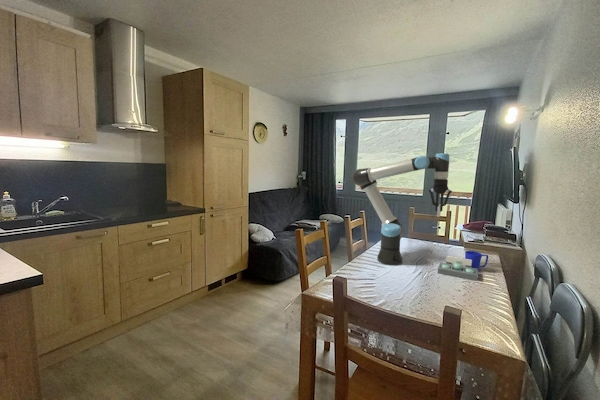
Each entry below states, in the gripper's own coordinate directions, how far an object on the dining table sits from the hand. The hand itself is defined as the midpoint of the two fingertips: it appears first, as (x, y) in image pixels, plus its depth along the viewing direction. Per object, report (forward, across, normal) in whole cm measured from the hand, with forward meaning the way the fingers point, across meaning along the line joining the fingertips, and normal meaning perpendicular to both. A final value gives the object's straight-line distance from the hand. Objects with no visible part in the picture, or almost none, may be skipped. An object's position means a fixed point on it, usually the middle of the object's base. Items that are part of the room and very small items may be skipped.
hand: (438, 216), depth 174 cm
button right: (+29, +19, -15) cm, 38 cm away
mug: (+30, +22, -2) cm, 37 cm away
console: (+29, +13, -15) cm, 35 cm away
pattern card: (+29, +13, -7) cm, 33 cm away
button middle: (+27, +13, -15) cm, 33 cm away
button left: (+29, +7, -15) cm, 33 cm away
